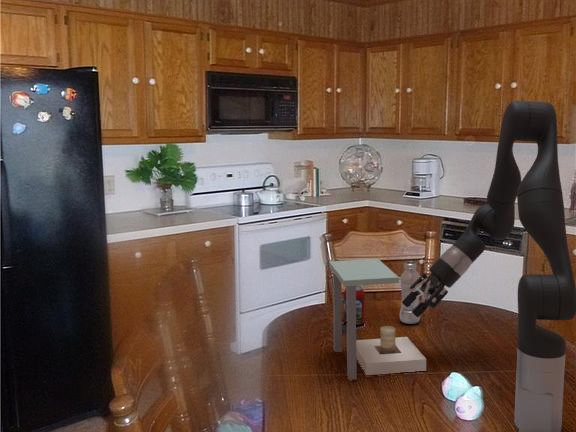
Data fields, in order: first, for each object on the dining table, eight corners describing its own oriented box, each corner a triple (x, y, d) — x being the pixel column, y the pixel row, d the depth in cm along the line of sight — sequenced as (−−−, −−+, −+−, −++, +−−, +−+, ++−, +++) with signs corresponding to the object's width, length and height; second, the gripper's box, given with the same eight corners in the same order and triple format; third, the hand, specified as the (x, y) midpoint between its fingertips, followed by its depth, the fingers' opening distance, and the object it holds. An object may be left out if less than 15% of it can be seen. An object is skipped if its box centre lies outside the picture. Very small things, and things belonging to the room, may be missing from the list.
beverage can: (340, 325, 188) (340, 289, 186) (348, 318, 194) (348, 283, 192) (360, 328, 185) (360, 291, 183) (367, 321, 191) (367, 286, 189)
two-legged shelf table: (377, 347, 169) (377, 258, 165) (398, 377, 149) (399, 277, 145) (330, 351, 168) (329, 261, 163) (345, 381, 148) (343, 280, 144)
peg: (392, 365, 157) (392, 332, 155) (378, 362, 159) (378, 329, 157) (397, 360, 160) (397, 327, 158) (383, 357, 162) (383, 325, 160)
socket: (406, 348, 168) (406, 336, 167) (426, 371, 152) (426, 359, 152) (352, 352, 166) (352, 340, 166) (366, 376, 151) (366, 363, 150)
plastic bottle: (395, 321, 190) (395, 261, 187) (412, 318, 193) (412, 259, 190) (407, 327, 184) (407, 266, 181) (424, 324, 187) (425, 263, 184)
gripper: (431, 251, 163) (391, 293, 164) (452, 263, 149) (408, 309, 150) (449, 269, 165) (410, 310, 165) (471, 282, 151) (428, 327, 151)
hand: (409, 309), depth 157 cm, fingers open, 8 cm apart
